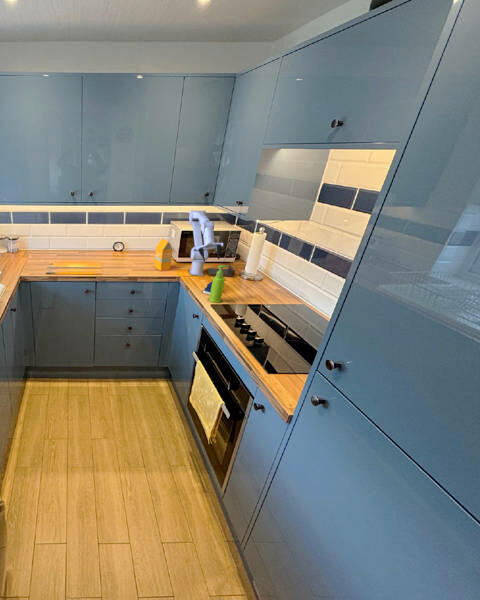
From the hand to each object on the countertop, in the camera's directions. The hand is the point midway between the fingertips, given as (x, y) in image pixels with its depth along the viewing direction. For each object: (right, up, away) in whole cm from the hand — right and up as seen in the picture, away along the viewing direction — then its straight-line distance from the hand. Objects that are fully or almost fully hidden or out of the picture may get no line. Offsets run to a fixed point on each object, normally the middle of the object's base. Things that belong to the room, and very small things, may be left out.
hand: (211, 259), depth 186 cm
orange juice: (-19, -1, +39) cm, 43 cm away
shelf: (+17, -6, +29) cm, 34 cm away
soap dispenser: (-1, -24, -8) cm, 25 cm away
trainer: (+1, -18, +3) cm, 18 cm away
